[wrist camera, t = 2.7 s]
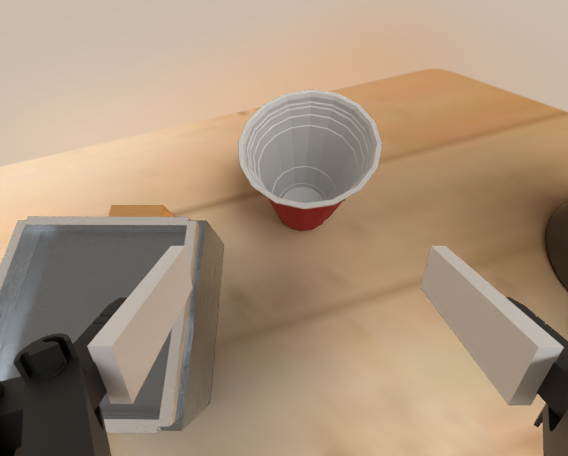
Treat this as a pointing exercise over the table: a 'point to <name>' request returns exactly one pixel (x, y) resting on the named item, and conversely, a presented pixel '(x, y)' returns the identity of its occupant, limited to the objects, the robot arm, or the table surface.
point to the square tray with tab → (106, 289)
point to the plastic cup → (309, 154)
